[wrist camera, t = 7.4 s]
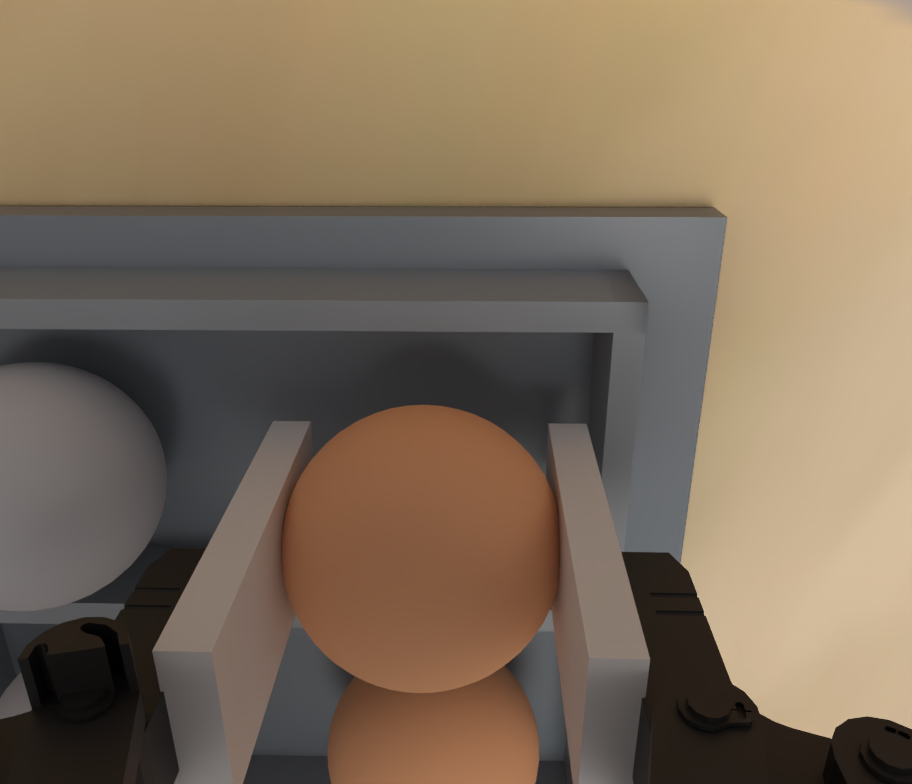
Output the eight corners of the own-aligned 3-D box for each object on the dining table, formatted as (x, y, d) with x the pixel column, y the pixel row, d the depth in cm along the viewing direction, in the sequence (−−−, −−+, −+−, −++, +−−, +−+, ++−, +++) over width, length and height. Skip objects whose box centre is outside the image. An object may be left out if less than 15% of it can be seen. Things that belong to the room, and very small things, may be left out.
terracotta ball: (350, 737, 22) (317, 917, 18) (339, 592, 20) (298, 754, 16) (529, 741, 22) (542, 922, 18) (536, 595, 20) (553, 759, 16)
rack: (-14, 763, 25) (-352, 1265, 15) (-201, 204, 18) (-1091, 433, 8) (641, 776, 24) (756, 1304, 14) (713, 207, 17) (1043, 453, 7)
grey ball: (9, 518, 20) (-131, 665, 15) (-43, 326, 18) (-223, 429, 13) (211, 521, 20) (130, 669, 15) (182, 328, 18) (79, 432, 13)
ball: (320, 570, 18) (263, 756, 13) (302, 360, 16) (226, 496, 11) (547, 574, 18) (568, 765, 13) (558, 363, 16) (588, 501, 11)
